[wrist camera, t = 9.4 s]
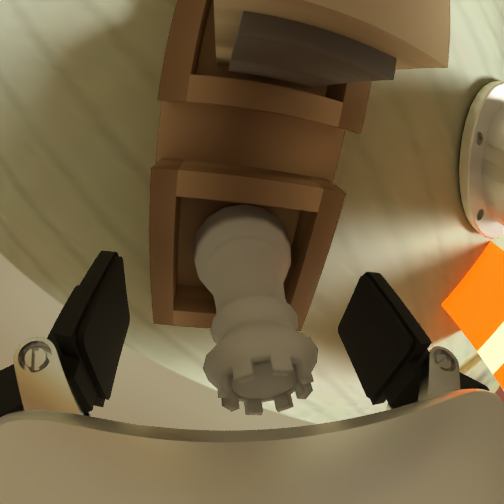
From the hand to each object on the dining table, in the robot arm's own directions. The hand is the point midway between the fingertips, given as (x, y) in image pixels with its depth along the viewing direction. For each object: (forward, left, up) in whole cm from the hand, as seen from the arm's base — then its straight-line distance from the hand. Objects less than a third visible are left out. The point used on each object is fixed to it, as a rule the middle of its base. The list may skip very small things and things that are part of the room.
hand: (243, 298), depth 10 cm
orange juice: (-24, +3, -5) cm, 25 cm away
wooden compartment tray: (0, -5, -5) cm, 7 cm away
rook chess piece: (0, 0, -4) cm, 4 cm away
